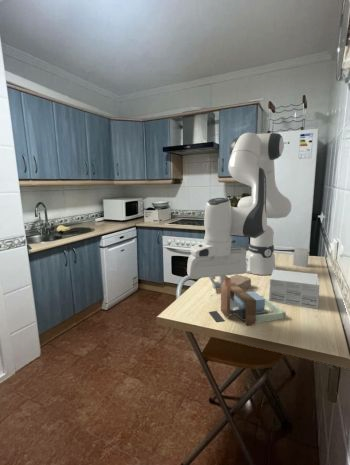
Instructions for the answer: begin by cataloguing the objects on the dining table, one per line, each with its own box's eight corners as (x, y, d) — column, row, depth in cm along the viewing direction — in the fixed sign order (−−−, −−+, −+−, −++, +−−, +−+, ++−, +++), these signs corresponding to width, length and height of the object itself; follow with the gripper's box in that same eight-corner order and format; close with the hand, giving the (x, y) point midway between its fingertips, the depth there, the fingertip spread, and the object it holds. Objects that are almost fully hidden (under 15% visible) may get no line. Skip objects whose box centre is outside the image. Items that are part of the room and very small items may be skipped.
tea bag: (306, 267, 140) (307, 249, 138) (293, 265, 144) (294, 248, 142) (307, 265, 142) (309, 248, 141) (294, 263, 146) (295, 246, 145)
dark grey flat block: (208, 312, 91) (208, 311, 91) (216, 311, 92) (216, 310, 92) (216, 322, 85) (216, 321, 85) (224, 321, 85) (224, 320, 85)
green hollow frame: (236, 303, 98) (236, 299, 97) (262, 300, 100) (262, 295, 100) (256, 322, 84) (256, 316, 84) (285, 318, 87) (285, 312, 86)
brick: (235, 282, 120) (235, 272, 120) (252, 286, 115) (252, 276, 114) (214, 293, 109) (214, 282, 108) (231, 298, 103) (231, 287, 102)
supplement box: (315, 295, 104) (317, 273, 103) (318, 309, 93) (320, 284, 91) (271, 289, 112) (272, 268, 110) (268, 301, 100) (269, 278, 98)
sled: (217, 306, 94) (217, 272, 92) (250, 302, 97) (252, 268, 95) (230, 321, 84) (231, 282, 81) (267, 316, 87) (269, 278, 84)
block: (233, 309, 94) (234, 293, 93) (253, 306, 96) (254, 291, 94) (243, 318, 87) (243, 302, 86) (264, 315, 89) (264, 299, 88)
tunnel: (225, 303, 98) (225, 282, 96) (232, 302, 99) (233, 282, 97) (246, 326, 82) (247, 301, 81) (255, 324, 83) (256, 300, 81)
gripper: (241, 243, 90) (240, 281, 92) (185, 247, 85) (185, 287, 88) (251, 247, 84) (249, 288, 86) (190, 252, 79) (191, 294, 82)
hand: (216, 287), depth 87 cm, fingers closed
